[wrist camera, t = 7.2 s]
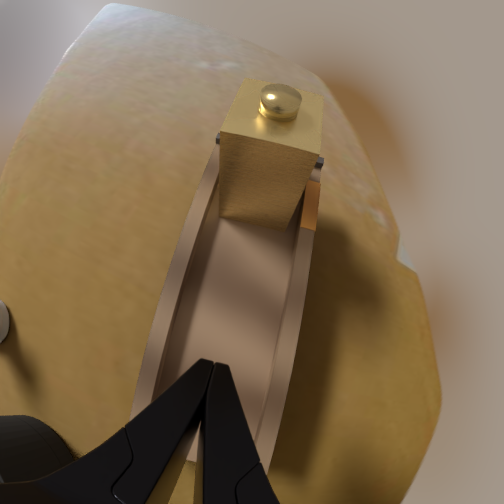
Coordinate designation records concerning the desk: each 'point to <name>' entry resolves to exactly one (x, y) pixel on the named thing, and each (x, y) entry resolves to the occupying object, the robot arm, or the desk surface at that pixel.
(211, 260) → the balance beam
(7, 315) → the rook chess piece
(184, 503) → the desk surface
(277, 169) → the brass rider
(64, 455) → the pen holder
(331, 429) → the desk surface
